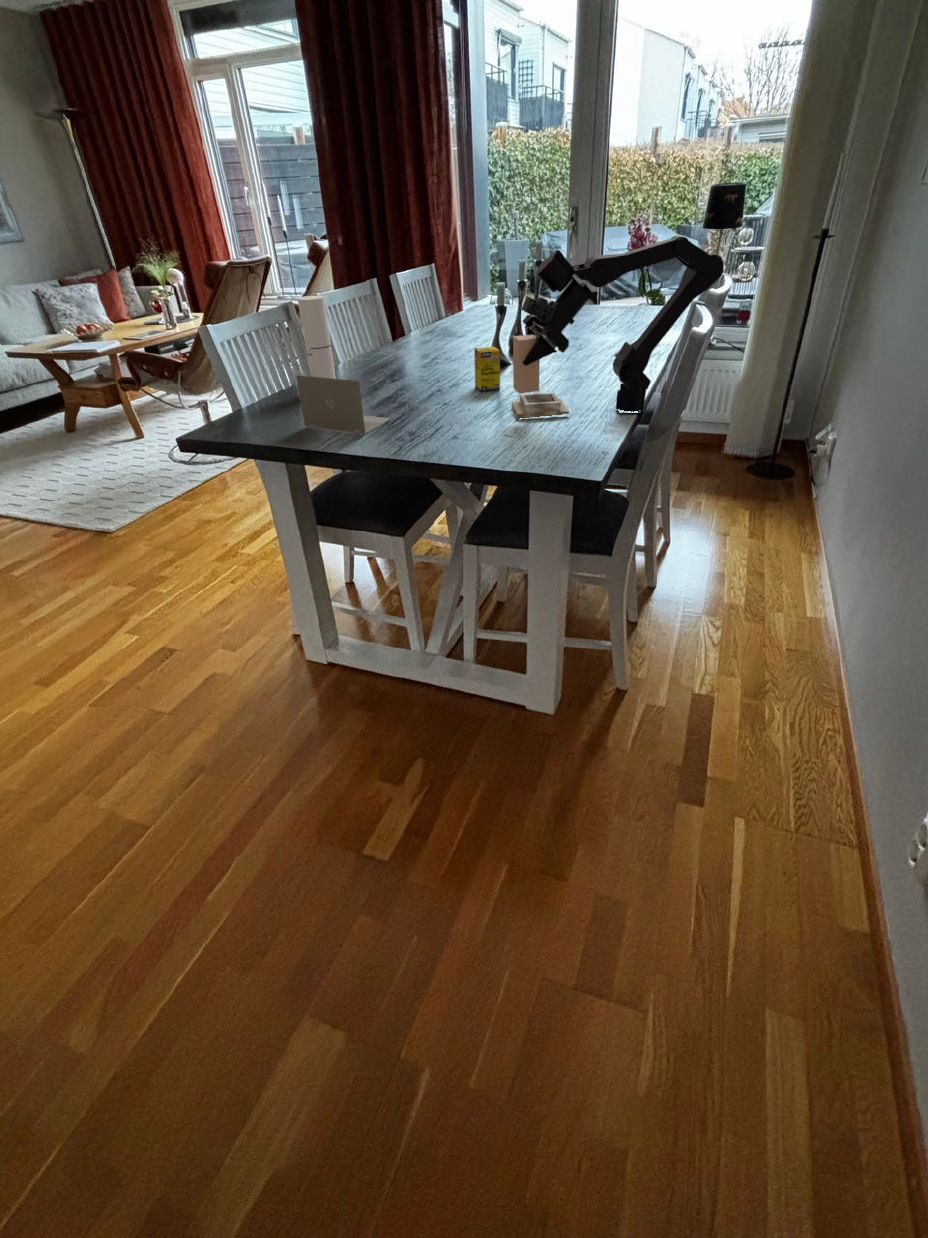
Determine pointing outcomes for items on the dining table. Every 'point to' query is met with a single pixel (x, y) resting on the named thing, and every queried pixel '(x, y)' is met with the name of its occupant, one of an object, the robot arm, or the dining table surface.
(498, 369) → the supplement box
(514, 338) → the terracotta peg
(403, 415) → the dining table surface
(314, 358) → the cylindrical container
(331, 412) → the laptop
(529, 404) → the plate
